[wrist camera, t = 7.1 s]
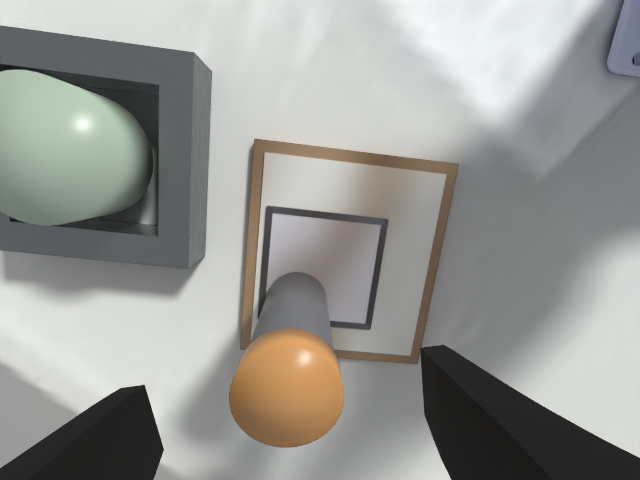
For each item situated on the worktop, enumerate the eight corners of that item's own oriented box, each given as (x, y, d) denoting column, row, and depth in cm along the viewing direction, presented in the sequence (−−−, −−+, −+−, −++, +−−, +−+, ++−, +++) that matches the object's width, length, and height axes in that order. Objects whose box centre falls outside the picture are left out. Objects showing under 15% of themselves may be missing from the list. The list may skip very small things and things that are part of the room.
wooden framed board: (454, 164, 14) (460, 163, 13) (414, 359, 16) (418, 366, 15) (255, 139, 13) (253, 138, 13) (241, 344, 15) (239, 351, 15)
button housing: (212, 71, 13) (193, 52, 11) (204, 255, 14) (188, 268, 12) (9, 43, 12) (-48, 19, 10) (27, 237, 14) (-20, 248, 12)
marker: (338, 283, 14) (362, 371, 8) (313, 337, 15) (317, 461, 8) (278, 260, 14) (253, 331, 7) (255, 316, 14) (213, 427, 8)
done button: (153, 101, 11) (108, 80, 9) (153, 220, 12) (112, 232, 10) (26, 84, 11) (-57, 59, 9) (36, 208, 12) (-37, 217, 10)
